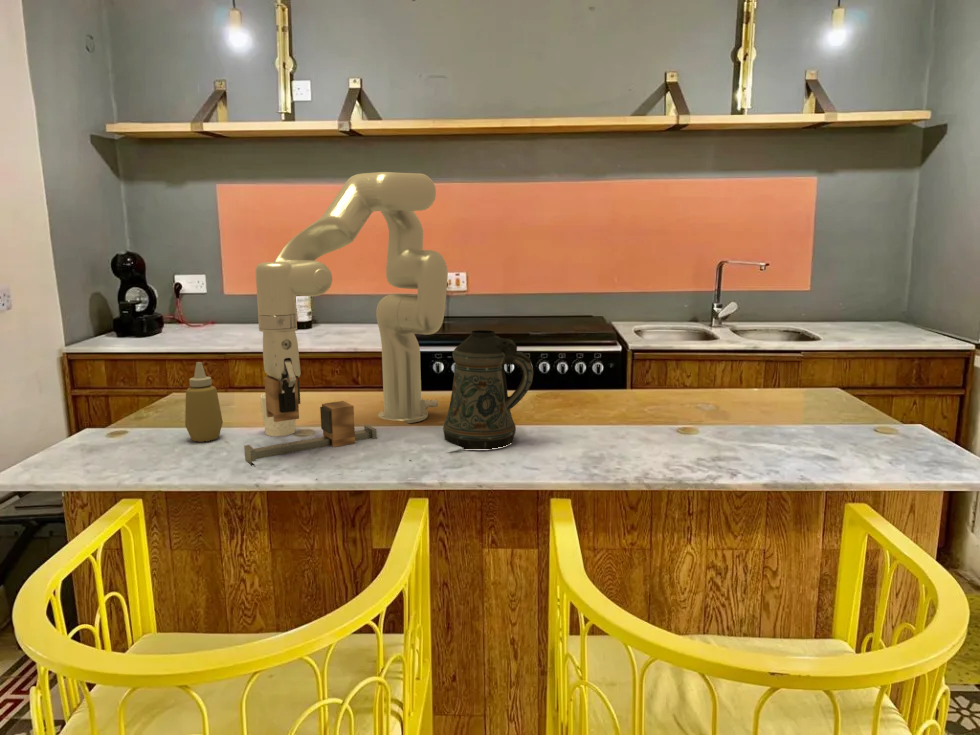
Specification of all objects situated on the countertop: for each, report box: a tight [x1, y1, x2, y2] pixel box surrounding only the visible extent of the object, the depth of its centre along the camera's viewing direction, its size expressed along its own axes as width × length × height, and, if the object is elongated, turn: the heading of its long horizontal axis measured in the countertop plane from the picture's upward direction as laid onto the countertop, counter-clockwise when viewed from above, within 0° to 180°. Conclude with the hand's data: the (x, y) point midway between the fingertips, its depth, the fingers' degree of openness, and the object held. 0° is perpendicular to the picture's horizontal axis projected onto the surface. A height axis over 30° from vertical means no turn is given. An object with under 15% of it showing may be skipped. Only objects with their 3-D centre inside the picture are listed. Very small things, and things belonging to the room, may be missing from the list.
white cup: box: [259, 392, 297, 437], centre depth 166 cm, size 8×8×10 cm
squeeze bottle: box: [184, 361, 224, 443], centre depth 163 cm, size 8×8×18 cm
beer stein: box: [442, 329, 534, 449], centre depth 160 cm, size 16×19×25 cm
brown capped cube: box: [263, 375, 301, 422], centre depth 149 cm, size 6×6×8 cm
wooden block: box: [319, 400, 356, 448], centre depth 157 cm, size 6×6×8 cm
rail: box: [243, 424, 378, 467], centre depth 155 cm, size 28×4×3 cm, turn 124°
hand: (282, 407), depth 149 cm, fingers closed on brown capped cube, 5 cm apart
